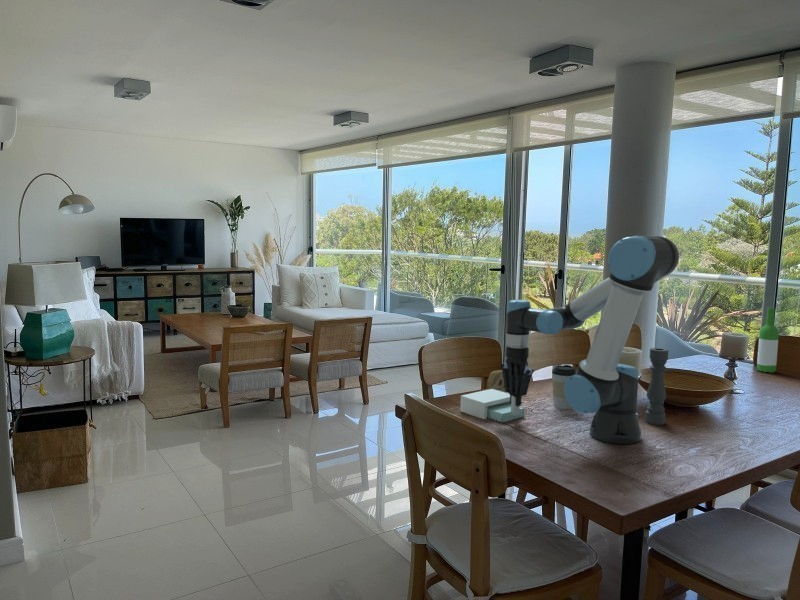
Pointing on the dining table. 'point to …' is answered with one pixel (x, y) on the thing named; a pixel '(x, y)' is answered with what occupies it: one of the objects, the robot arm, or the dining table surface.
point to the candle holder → (657, 387)
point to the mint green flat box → (503, 412)
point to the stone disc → (496, 381)
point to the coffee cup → (561, 385)
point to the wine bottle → (768, 344)
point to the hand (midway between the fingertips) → (515, 414)
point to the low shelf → (482, 402)
